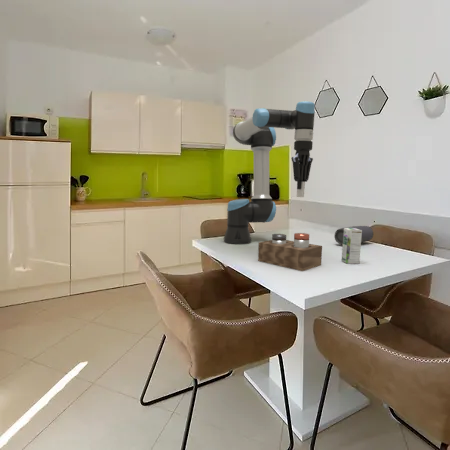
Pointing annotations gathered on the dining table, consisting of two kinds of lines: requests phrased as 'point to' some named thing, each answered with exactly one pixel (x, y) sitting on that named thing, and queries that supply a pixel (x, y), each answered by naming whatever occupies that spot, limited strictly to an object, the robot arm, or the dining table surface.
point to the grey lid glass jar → (279, 238)
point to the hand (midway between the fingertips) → (300, 196)
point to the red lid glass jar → (301, 240)
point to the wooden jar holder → (290, 255)
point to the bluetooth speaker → (366, 230)
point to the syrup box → (351, 245)
